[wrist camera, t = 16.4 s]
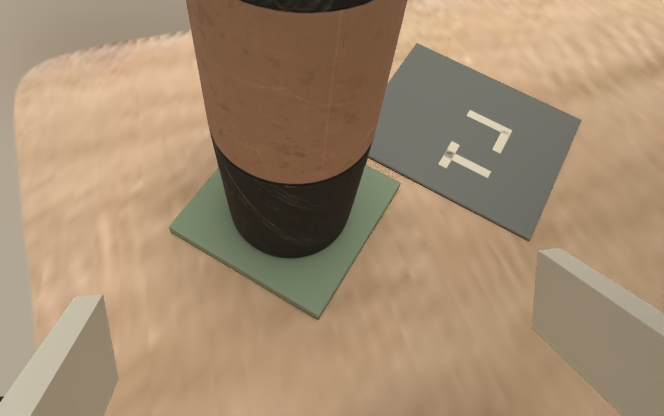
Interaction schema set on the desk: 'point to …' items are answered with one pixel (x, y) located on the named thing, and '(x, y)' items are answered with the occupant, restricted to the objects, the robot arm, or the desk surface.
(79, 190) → the desk surface
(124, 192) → the desk surface
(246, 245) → the sage green mat
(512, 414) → the desk surface
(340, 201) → the travel mug
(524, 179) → the card
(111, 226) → the desk surface
